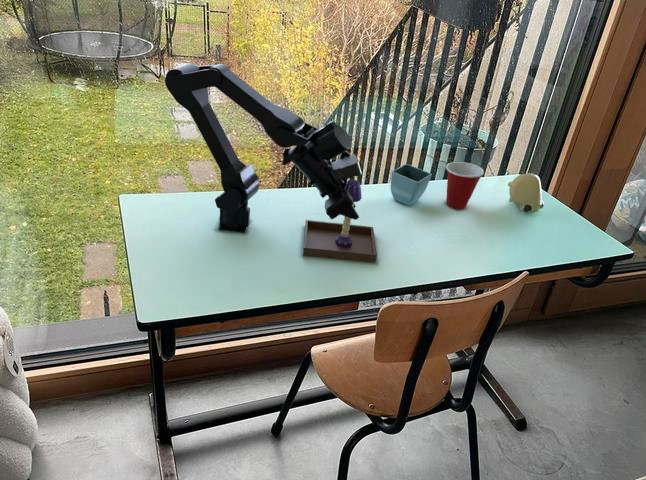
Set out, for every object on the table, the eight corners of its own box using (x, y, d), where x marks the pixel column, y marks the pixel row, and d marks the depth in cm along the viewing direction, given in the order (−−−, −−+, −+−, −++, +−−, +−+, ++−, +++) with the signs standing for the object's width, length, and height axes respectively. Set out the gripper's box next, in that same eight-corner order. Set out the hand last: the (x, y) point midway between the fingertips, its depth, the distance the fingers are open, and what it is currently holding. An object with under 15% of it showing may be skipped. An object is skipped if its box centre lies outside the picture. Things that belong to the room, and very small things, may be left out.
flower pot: (425, 201, 166) (432, 173, 161) (411, 211, 160) (418, 182, 155) (400, 190, 169) (406, 163, 164) (385, 200, 163) (390, 171, 158)
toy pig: (507, 218, 173) (531, 211, 163) (498, 180, 173) (522, 170, 164) (531, 214, 177) (556, 206, 168) (523, 177, 178) (547, 167, 168)
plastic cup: (448, 192, 173) (457, 156, 167) (479, 206, 169) (490, 169, 162) (430, 203, 166) (439, 165, 159) (462, 217, 161) (473, 179, 154)
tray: (302, 255, 132) (303, 247, 131) (304, 227, 143) (305, 219, 142) (375, 263, 135) (376, 255, 133) (371, 234, 145) (373, 226, 144)
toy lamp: (357, 242, 140) (367, 181, 131) (348, 250, 136) (358, 188, 127) (339, 236, 141) (348, 175, 132) (331, 244, 138) (339, 181, 128)
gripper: (349, 163, 116) (391, 212, 125) (337, 128, 131) (375, 175, 140) (307, 194, 119) (351, 241, 128) (300, 157, 134) (340, 201, 143)
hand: (355, 213), depth 134 cm, fingers open, 5 cm apart
